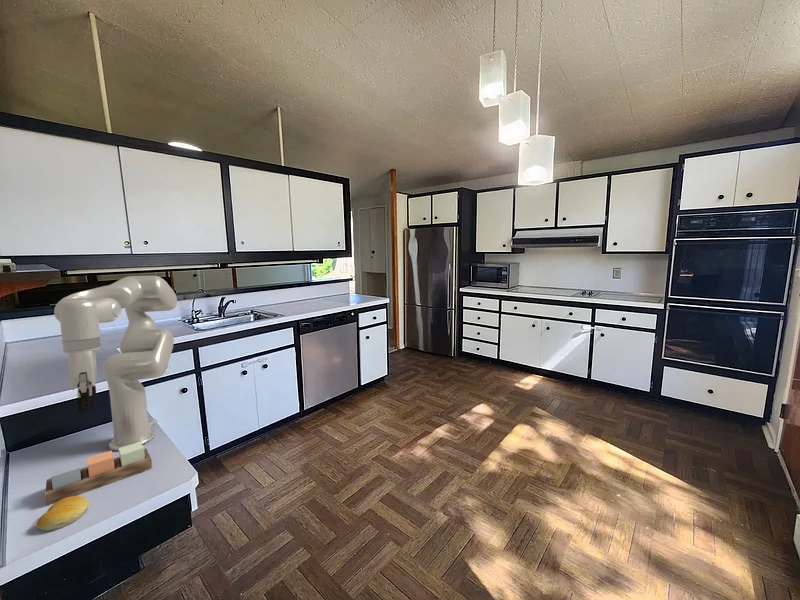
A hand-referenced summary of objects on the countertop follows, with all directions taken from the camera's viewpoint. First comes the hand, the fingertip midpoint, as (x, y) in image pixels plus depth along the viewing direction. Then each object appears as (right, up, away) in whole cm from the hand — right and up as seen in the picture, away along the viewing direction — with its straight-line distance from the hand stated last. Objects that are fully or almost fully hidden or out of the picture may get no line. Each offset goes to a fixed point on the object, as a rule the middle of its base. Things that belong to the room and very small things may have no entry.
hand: (88, 405), depth 93 cm
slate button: (-4, -20, -2) cm, 21 cm away
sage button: (+6, -19, +8) cm, 22 cm away
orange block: (+1, -20, +3) cm, 20 cm away
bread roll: (+5, -24, -12) cm, 27 cm away
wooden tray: (+1, -22, +3) cm, 22 cm away
